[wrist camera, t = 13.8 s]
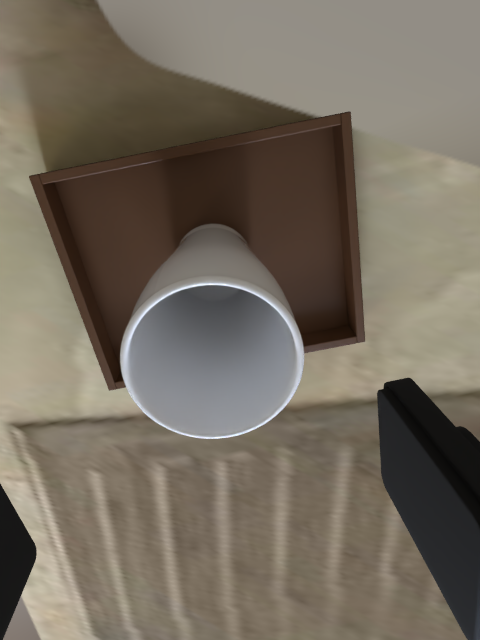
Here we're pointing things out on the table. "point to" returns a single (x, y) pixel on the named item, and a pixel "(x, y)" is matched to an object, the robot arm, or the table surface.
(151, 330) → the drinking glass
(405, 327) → the table surface
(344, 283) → the tray
